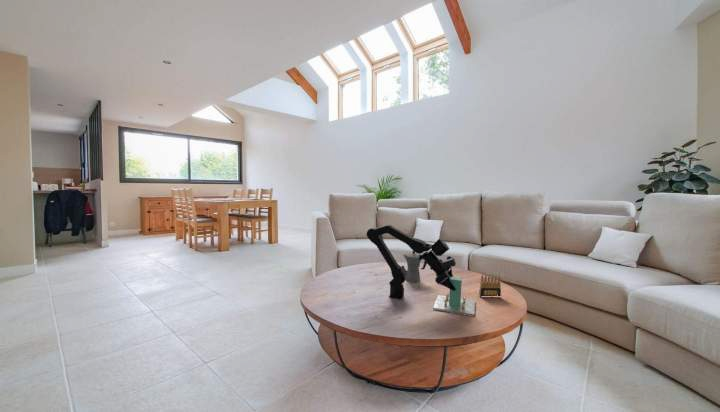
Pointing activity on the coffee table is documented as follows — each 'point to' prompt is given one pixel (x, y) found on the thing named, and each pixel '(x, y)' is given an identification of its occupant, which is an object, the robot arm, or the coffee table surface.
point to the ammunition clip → (490, 286)
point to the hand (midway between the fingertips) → (456, 287)
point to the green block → (455, 295)
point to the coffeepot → (413, 267)
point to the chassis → (464, 308)
